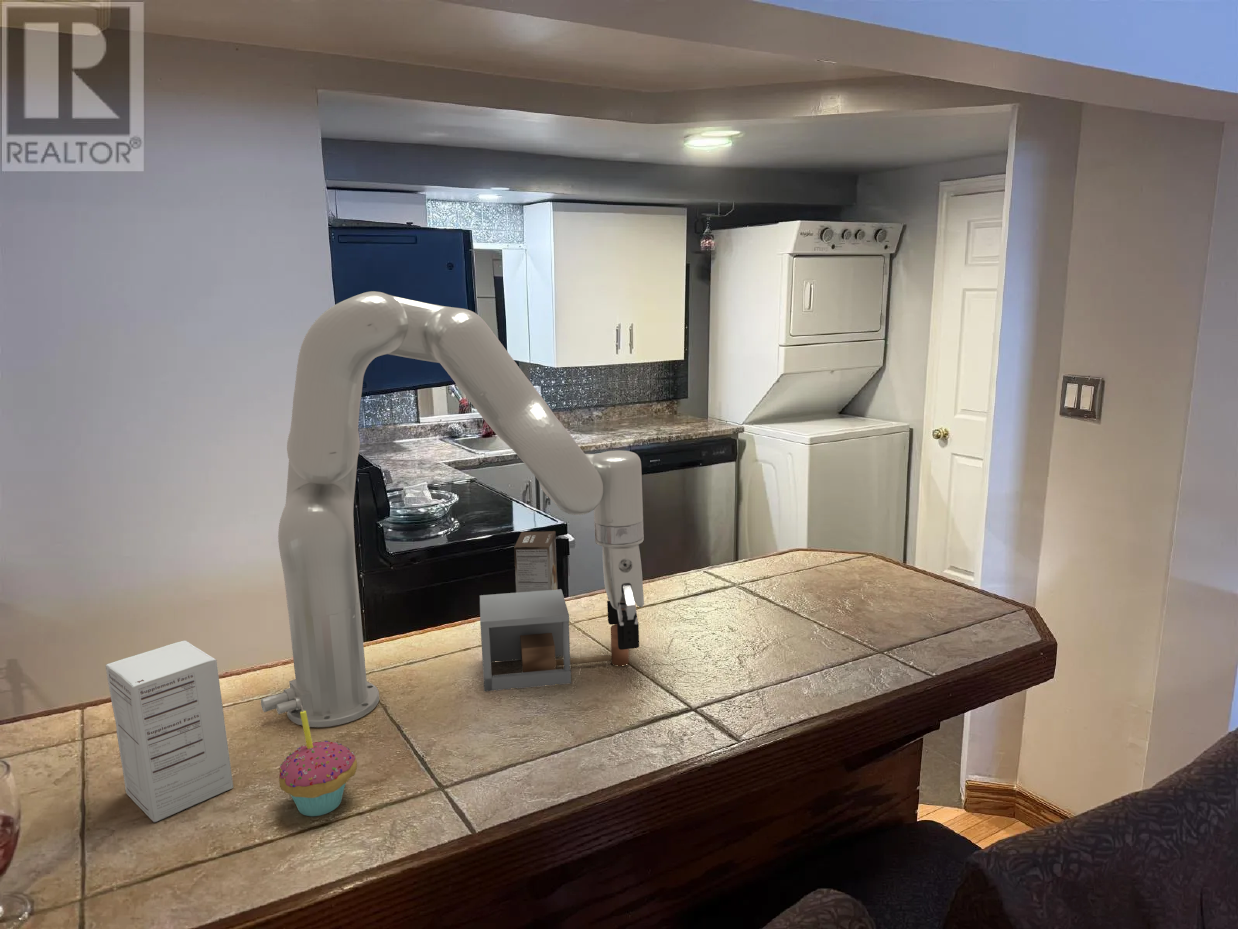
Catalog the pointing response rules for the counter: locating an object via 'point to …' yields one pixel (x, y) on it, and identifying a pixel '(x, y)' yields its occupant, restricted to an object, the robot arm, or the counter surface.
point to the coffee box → (535, 561)
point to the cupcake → (317, 773)
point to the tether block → (542, 657)
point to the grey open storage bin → (519, 617)
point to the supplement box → (170, 728)
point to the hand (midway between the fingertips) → (623, 635)
